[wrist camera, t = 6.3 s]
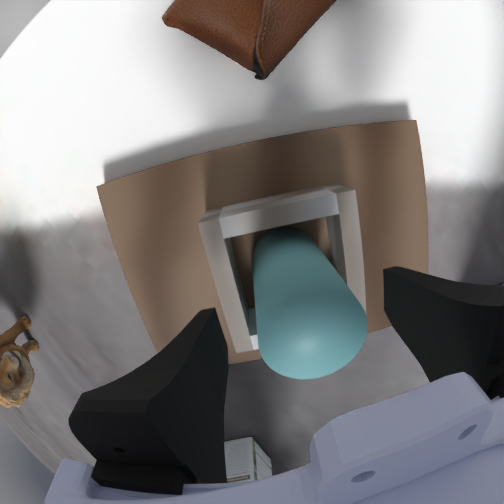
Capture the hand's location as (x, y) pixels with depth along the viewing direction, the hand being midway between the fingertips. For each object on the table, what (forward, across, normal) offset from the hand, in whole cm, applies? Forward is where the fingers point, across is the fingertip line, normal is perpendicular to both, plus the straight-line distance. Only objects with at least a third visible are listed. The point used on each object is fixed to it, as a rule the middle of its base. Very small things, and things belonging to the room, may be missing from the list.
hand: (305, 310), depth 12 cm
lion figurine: (+7, +26, +1) cm, 27 cm away
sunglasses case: (+8, -5, -20) cm, 22 cm away
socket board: (+7, 0, 0) cm, 7 cm away
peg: (+6, 0, 0) cm, 6 cm away
